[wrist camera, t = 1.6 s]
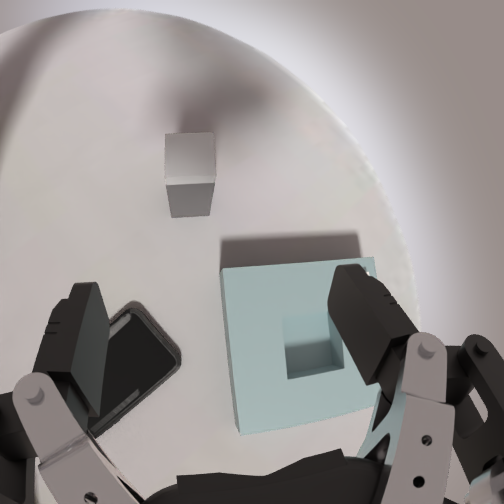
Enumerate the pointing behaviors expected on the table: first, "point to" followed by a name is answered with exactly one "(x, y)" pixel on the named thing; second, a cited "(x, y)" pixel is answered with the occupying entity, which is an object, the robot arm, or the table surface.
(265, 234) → the table surface
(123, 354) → the phone
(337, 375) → the socket
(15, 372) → the table surface
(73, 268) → the table surface
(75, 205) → the table surface
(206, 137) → the plug
